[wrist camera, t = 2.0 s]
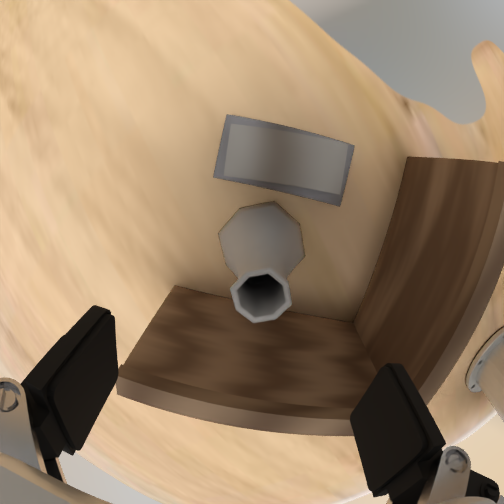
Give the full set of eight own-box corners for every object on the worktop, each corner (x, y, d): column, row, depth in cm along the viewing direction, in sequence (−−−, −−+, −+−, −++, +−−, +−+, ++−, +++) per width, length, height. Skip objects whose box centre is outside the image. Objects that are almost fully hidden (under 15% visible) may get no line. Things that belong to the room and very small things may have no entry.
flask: (204, 229, 24) (167, 272, 14) (278, 185, 23) (289, 202, 13) (247, 295, 26) (239, 367, 16) (318, 258, 24) (349, 316, 15)
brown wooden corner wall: (420, 162, 21) (525, 175, 9) (360, 336, 27) (403, 432, 14) (209, 100, 20) (151, 40, 8) (173, 299, 26) (117, 394, 14)
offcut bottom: (345, 147, 22) (354, 145, 19) (332, 202, 23) (340, 206, 21) (230, 119, 21) (226, 114, 19) (218, 176, 23) (213, 177, 21)
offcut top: (338, 146, 20) (348, 144, 17) (331, 191, 21) (339, 194, 18) (234, 128, 19) (230, 123, 17) (227, 174, 21) (223, 175, 18)
